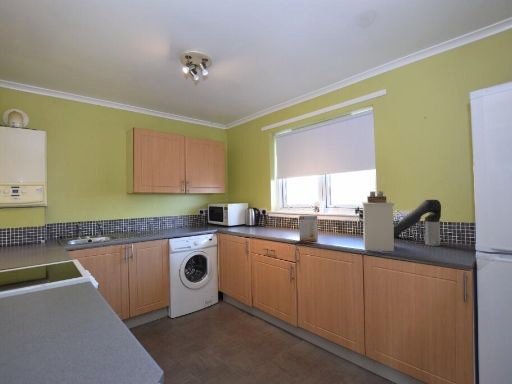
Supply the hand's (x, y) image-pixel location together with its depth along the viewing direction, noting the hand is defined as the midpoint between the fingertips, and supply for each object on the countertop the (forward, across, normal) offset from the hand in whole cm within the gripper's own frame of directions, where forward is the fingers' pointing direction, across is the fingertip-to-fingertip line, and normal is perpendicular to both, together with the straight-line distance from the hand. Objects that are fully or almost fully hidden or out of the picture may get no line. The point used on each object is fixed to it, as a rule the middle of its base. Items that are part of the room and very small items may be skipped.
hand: (363, 207), depth 236 cm
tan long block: (+23, -7, -6) cm, 25 cm away
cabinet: (+20, -7, -42) cm, 47 cm away
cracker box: (+7, +44, -34) cm, 56 cm away
